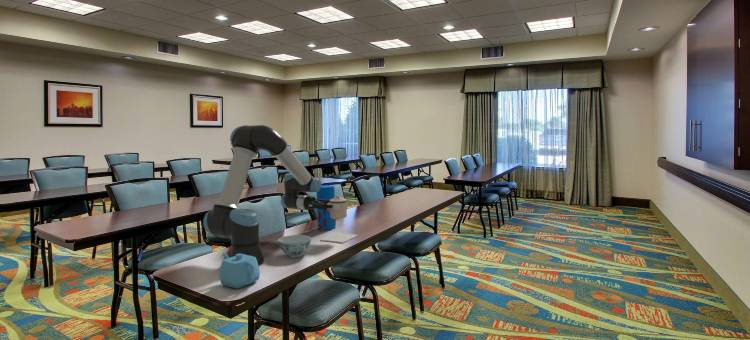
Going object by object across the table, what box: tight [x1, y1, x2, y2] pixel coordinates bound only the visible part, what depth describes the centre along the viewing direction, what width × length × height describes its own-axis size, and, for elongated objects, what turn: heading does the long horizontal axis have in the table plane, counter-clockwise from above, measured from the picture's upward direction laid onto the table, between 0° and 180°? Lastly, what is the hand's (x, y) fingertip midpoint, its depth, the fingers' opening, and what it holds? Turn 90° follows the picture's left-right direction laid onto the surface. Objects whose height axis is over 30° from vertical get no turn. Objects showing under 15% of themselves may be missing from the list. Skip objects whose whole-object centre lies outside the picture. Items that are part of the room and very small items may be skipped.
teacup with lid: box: [327, 194, 348, 220], centre depth 216 cm, size 12×9×12 cm
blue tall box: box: [315, 184, 337, 231], centre depth 244 cm, size 11×11×25 cm
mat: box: [319, 232, 359, 244], centre depth 221 cm, size 16×14×1 cm
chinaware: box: [277, 234, 312, 258], centre depth 191 cm, size 15×15×8 cm
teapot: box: [219, 252, 261, 289], centre depth 157 cm, size 12×18×12 cm
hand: (343, 205), depth 214 cm, fingers closed on teacup with lid, 9 cm apart
